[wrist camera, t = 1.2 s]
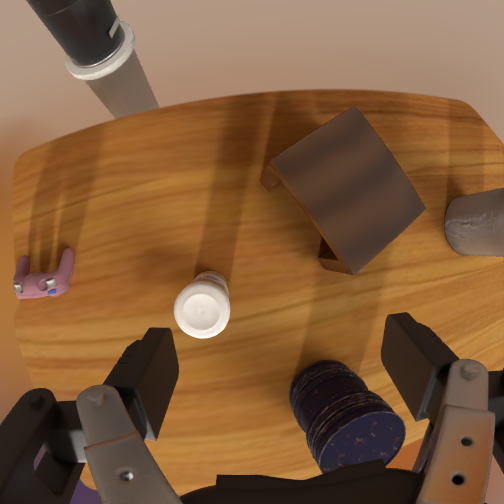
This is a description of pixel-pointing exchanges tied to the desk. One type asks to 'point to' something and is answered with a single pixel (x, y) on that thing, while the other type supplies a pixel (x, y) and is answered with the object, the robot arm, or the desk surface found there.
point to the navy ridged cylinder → (343, 417)
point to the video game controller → (43, 278)
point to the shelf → (347, 189)
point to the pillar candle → (477, 224)
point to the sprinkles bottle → (203, 305)
